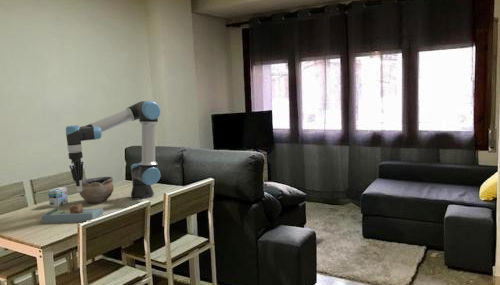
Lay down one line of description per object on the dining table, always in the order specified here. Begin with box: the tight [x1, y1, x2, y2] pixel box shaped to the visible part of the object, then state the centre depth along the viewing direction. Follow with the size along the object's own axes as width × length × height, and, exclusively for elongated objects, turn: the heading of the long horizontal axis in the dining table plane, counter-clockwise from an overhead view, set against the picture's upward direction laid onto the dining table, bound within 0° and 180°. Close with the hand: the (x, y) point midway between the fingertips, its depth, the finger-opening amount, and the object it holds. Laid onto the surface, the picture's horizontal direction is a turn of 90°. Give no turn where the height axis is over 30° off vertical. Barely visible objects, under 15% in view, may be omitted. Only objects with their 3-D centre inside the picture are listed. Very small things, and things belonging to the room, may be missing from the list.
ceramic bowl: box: [78, 176, 114, 204], centre depth 279 cm, size 22×22×15 cm
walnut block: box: [69, 203, 83, 214], centre depth 240 cm, size 5×5×5 cm
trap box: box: [41, 207, 104, 224], centre depth 243 cm, size 29×16×4 cm, turn 87°
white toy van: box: [47, 186, 69, 208], centre depth 275 cm, size 11×7×11 cm, turn 168°
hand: (79, 191), depth 248 cm, fingers closed
